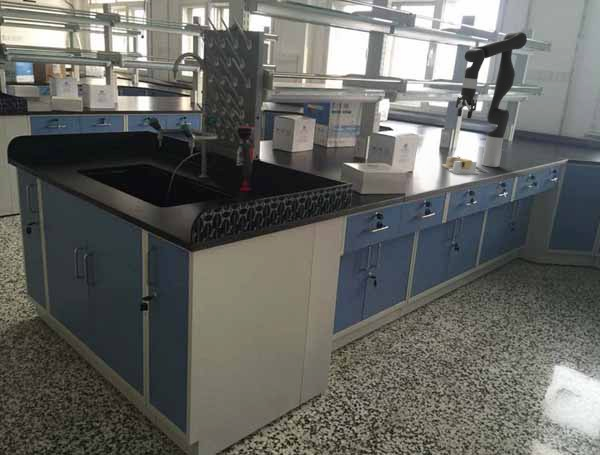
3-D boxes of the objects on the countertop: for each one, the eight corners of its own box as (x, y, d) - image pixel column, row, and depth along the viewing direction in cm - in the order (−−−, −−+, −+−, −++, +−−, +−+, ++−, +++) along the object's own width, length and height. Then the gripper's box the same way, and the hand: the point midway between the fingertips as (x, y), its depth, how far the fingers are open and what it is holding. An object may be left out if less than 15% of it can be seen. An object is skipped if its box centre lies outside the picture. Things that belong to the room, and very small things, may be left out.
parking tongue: (452, 166, 302) (454, 155, 300) (461, 169, 294) (463, 158, 293) (441, 166, 299) (443, 155, 297) (449, 169, 292) (451, 158, 290)
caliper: (453, 166, 302) (455, 155, 300) (454, 166, 303) (456, 155, 301) (488, 173, 291) (490, 162, 289) (488, 173, 291) (491, 162, 289)
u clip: (464, 166, 288) (465, 158, 287) (470, 168, 283) (472, 160, 282) (458, 166, 286) (459, 158, 285) (464, 168, 281) (466, 160, 280)
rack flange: (469, 170, 292) (471, 160, 290) (478, 174, 285) (480, 163, 283) (448, 170, 287) (450, 160, 285) (457, 174, 280) (459, 163, 278)
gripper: (483, 88, 281) (477, 119, 286) (466, 86, 293) (461, 115, 299) (472, 88, 278) (466, 118, 283) (455, 85, 291) (450, 115, 296)
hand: (463, 117), depth 291 cm, fingers open, 8 cm apart
